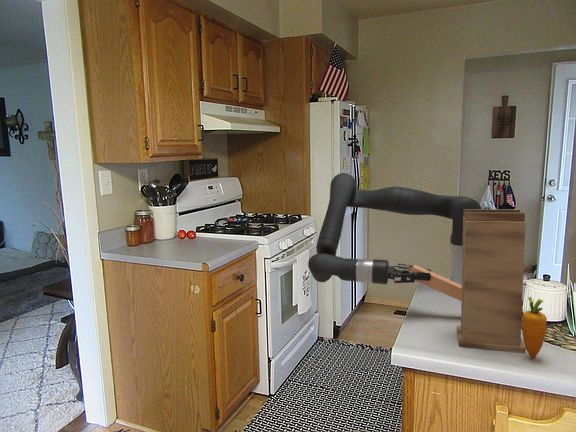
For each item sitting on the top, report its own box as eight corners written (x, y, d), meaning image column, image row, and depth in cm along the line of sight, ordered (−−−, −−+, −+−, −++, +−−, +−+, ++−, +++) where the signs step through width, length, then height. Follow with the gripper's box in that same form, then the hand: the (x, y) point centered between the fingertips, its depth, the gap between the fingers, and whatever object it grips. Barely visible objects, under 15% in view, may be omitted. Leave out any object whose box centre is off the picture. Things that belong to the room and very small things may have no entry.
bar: (409, 274, 131) (413, 264, 130) (480, 306, 126) (486, 295, 125) (408, 277, 128) (413, 267, 127) (482, 310, 123) (487, 300, 122)
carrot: (519, 352, 104) (521, 293, 102) (542, 355, 103) (545, 294, 100) (522, 361, 100) (524, 299, 98) (546, 364, 98) (549, 301, 96)
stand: (456, 329, 119) (459, 208, 114) (517, 334, 114) (522, 208, 109) (459, 346, 109) (461, 214, 104) (525, 353, 104) (531, 214, 99)
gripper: (369, 265, 126) (431, 268, 120) (375, 254, 139) (431, 257, 133) (369, 289, 127) (430, 294, 121) (375, 276, 140) (430, 280, 134)
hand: (430, 275), depth 127 cm, fingers closed on bar, 3 cm apart
